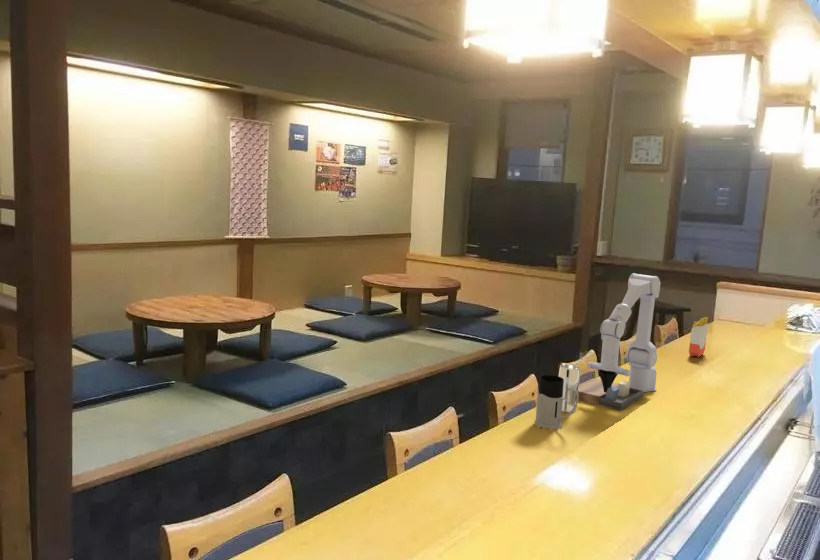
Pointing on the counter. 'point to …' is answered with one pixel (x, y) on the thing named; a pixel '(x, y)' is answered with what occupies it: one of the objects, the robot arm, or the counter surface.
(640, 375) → the robot arm
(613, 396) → the blue-gray block
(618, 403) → the tray
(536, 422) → the grey black mug
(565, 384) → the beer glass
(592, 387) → the walnut board
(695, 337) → the french fries container
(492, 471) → the counter surface
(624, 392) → the white tile
